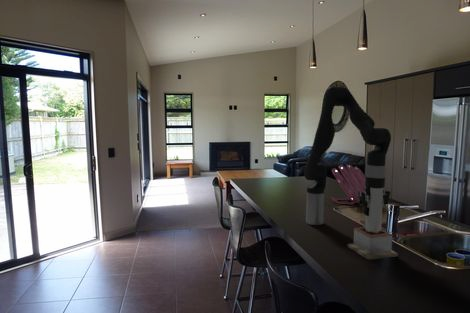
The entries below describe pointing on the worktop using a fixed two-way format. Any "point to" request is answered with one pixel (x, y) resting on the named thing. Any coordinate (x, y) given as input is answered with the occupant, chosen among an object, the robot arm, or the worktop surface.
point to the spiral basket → (350, 182)
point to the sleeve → (372, 241)
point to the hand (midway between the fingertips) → (373, 214)
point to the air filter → (374, 211)
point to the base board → (372, 256)
